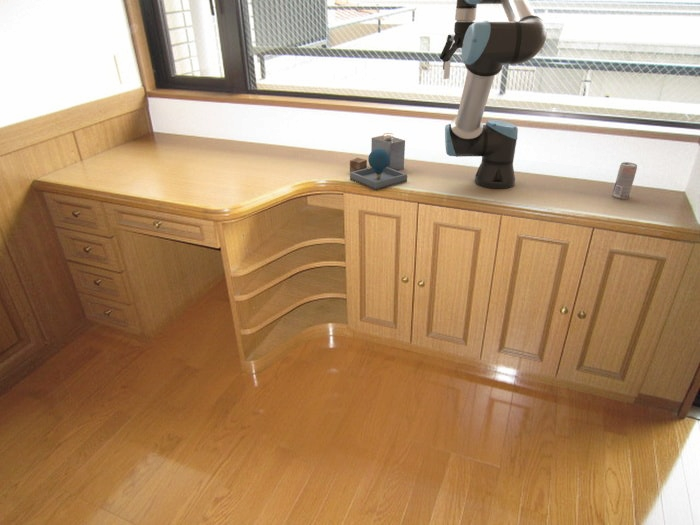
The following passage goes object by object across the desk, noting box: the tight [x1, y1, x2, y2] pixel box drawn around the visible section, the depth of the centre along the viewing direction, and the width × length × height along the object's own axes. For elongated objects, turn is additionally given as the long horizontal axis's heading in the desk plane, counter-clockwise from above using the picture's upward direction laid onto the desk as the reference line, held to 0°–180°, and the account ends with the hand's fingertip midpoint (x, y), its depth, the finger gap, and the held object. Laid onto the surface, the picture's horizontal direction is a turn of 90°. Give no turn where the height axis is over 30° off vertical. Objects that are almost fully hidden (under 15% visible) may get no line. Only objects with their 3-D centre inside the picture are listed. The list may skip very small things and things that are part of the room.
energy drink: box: [612, 161, 638, 200], centre depth 174 cm, size 5×5×12 cm
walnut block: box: [349, 157, 368, 173], centre depth 203 cm, size 5×5×5 cm
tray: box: [349, 166, 408, 191], centre depth 193 cm, size 16×16×3 cm
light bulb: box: [367, 148, 390, 179], centre depth 191 cm, size 8×8×12 cm
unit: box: [370, 132, 406, 171], centre depth 206 cm, size 12×8×14 cm, turn 38°
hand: (459, 80), depth 195 cm, fingers open, 13 cm apart
